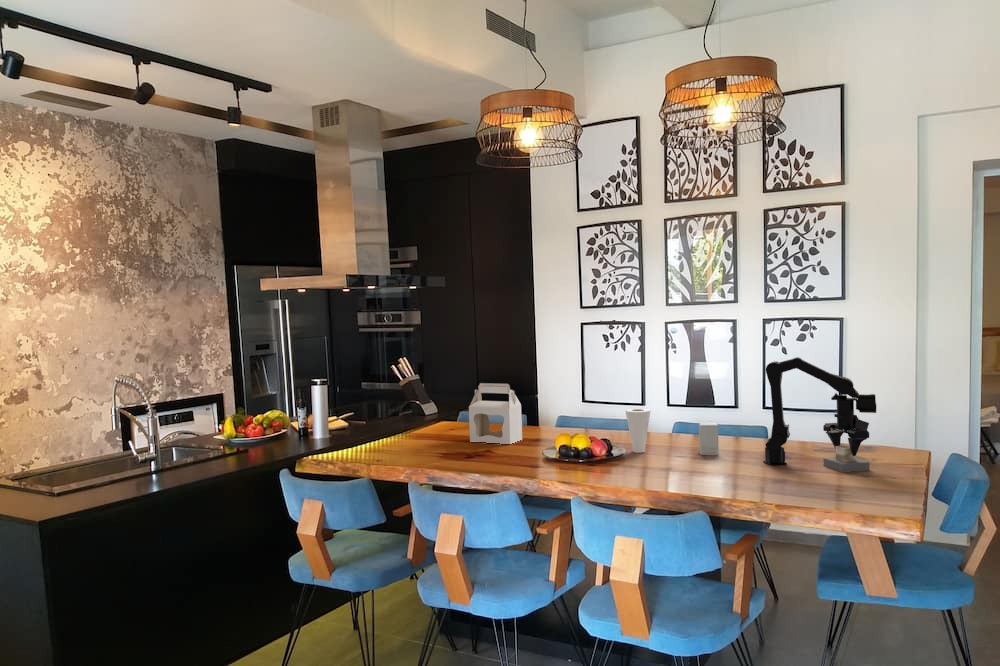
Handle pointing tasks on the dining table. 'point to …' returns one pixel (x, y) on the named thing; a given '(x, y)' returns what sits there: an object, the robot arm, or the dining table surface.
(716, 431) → the supplement box
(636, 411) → the cup
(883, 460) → the dining table surface
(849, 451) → the cube
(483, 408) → the gable box
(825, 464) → the base
